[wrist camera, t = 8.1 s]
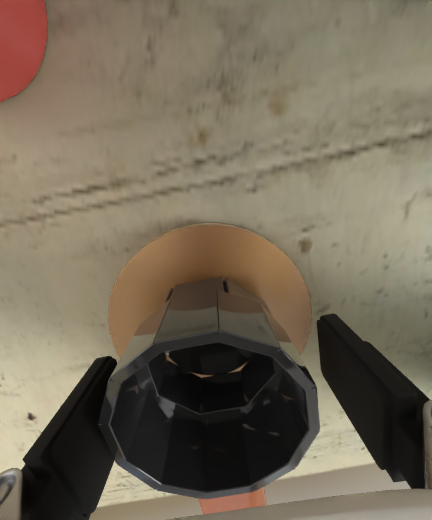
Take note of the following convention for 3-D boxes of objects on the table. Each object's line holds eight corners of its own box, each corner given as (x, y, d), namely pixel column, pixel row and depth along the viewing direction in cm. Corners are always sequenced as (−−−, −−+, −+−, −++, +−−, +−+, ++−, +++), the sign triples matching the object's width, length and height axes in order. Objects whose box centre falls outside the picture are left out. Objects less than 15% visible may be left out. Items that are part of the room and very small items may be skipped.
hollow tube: (132, 285, 12) (65, 358, 6) (264, 259, 11) (311, 313, 6) (174, 411, 14) (151, 539, 9) (282, 392, 14) (327, 512, 9)
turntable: (296, 205, 12) (306, 205, 11) (308, 375, 15) (317, 390, 14) (89, 242, 12) (76, 248, 11) (145, 401, 16) (139, 418, 14)
